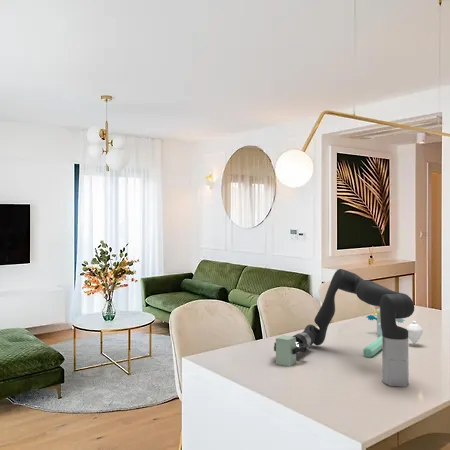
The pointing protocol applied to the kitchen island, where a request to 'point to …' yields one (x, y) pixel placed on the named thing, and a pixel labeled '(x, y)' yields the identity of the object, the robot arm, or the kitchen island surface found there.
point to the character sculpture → (378, 319)
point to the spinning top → (414, 332)
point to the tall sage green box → (285, 350)
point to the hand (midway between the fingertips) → (283, 350)
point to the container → (373, 347)
